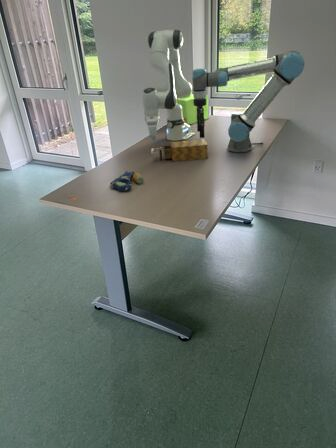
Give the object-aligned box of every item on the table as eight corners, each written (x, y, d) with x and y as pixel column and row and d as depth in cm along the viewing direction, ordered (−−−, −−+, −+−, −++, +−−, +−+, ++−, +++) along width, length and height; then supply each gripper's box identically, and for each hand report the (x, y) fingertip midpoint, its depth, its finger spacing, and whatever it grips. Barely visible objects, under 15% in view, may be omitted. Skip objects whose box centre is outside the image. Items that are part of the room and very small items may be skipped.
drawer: (151, 161, 208) (150, 150, 204) (152, 155, 216) (150, 145, 213) (193, 157, 207) (192, 147, 204) (191, 152, 216) (191, 142, 212)
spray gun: (149, 177, 188) (127, 175, 194) (148, 170, 185) (126, 168, 192) (130, 194, 172) (106, 191, 179) (129, 187, 170) (105, 183, 176)
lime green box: (191, 115, 302) (190, 88, 290) (208, 118, 288) (208, 90, 276) (170, 121, 289) (168, 93, 277) (187, 125, 275) (185, 95, 263)
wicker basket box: (172, 161, 208) (171, 147, 203) (171, 155, 217) (170, 142, 213) (207, 158, 207) (207, 144, 203) (205, 152, 217) (205, 139, 212)
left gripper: (147, 113, 208) (149, 135, 215) (146, 122, 190) (148, 145, 198) (157, 113, 208) (159, 135, 215) (157, 121, 190) (159, 145, 197)
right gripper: (191, 94, 205) (192, 129, 216) (195, 103, 183) (196, 141, 194) (203, 93, 204) (204, 128, 215) (209, 102, 183) (209, 139, 194)
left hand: (154, 140), depth 206 cm, fingers closed
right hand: (200, 134), depth 205 cm, fingers open, 13 cm apart
